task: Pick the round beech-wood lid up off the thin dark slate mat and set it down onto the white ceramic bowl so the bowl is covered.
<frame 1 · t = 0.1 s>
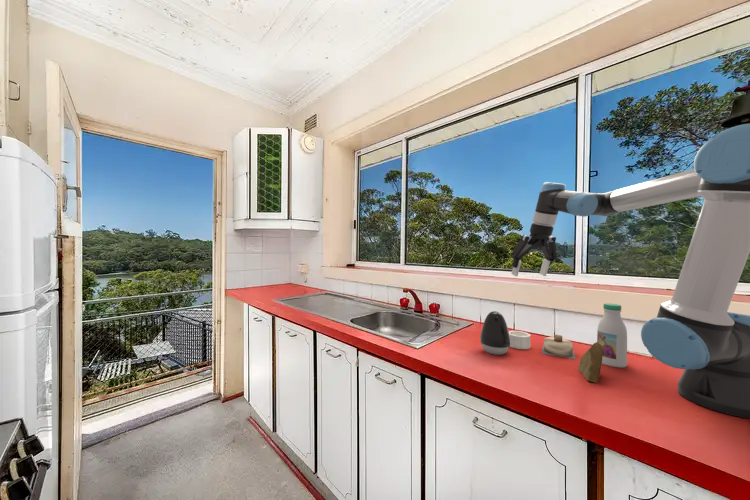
hand: (528, 275, 114), 28 cm above the counter, tool tilted 20°, fingers open, 13 cm apart
lid: (558, 351, 104), resting on mat
rock: (587, 376, 86), on the counter
black egg-shaped device: (494, 353, 104), on the counter
bowl: (518, 346, 111), on the counter
mat: (557, 352, 104), on the counter
milk bottle: (611, 364, 95), on the counter
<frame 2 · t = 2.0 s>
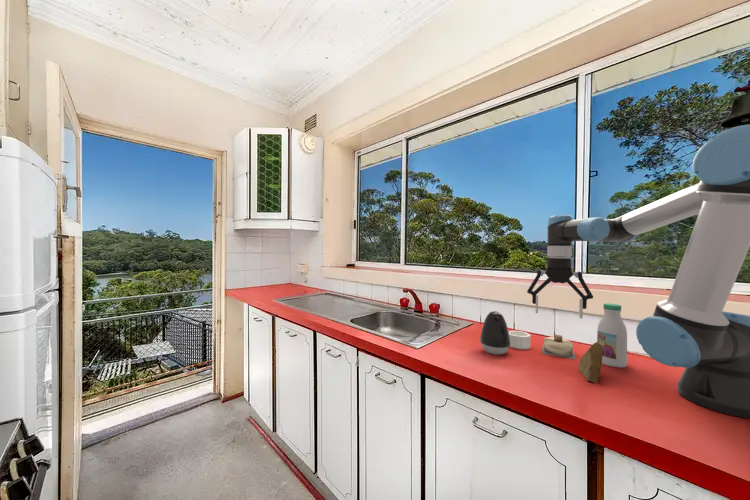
hand: (558, 315, 104), 14 cm above the counter, tool pointing down, fingers open, 13 cm apart
nothing on the counter moved.
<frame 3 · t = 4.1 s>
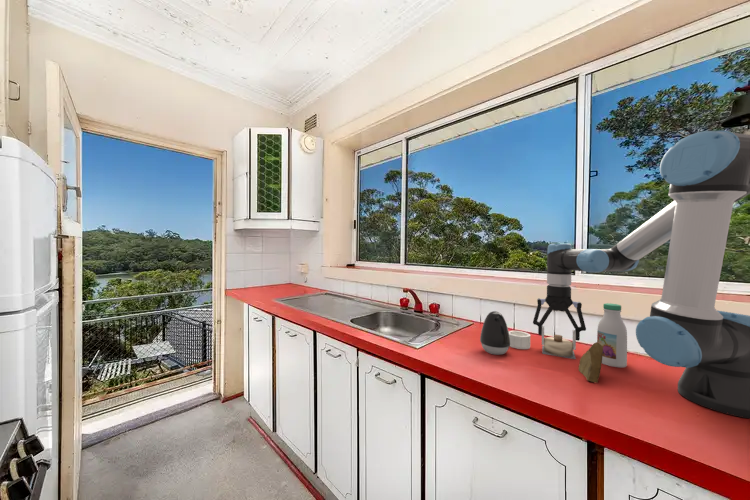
hand: (558, 346, 104), 2 cm above the counter, tool pointing down, fingers closed on lid, 9 cm apart
lid: (558, 351, 104), resting on mat, touching gripper
everything else where it was.
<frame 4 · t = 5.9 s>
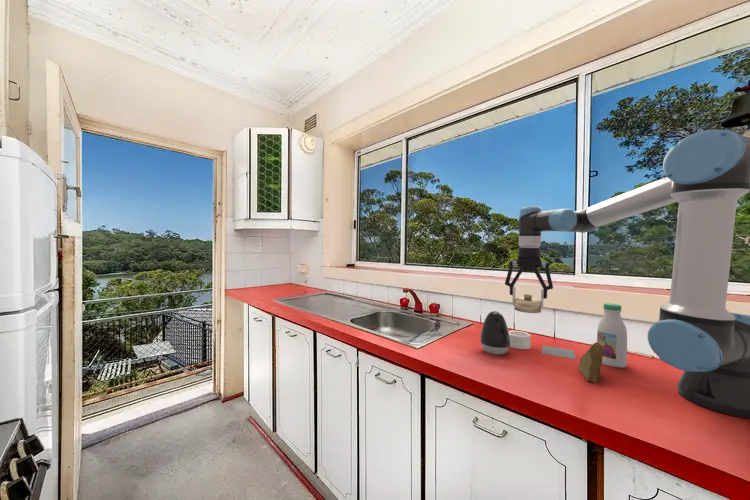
hand: (527, 305, 110), 16 cm above the counter, tool pointing down, fingers closed on lid, 9 cm apart
lid: (527, 310, 110), point 14 cm above the counter, touching gripper
everything else where it was.
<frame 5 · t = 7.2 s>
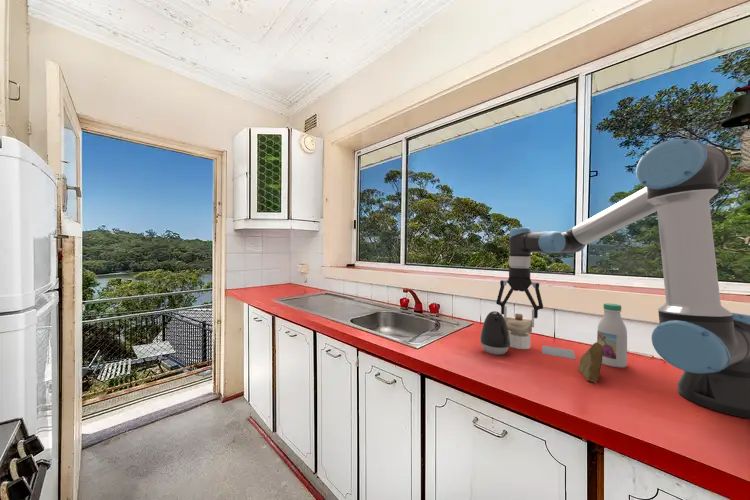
hand: (518, 324, 111), 9 cm above the counter, tool pointing down, fingers closed on lid, 9 cm apart
lid: (518, 329, 111), point 7 cm above the counter, touching gripper
everything else where it was.
when the fingers open (8 cm above the counter, at t = 8.0 s): lid drops 1 cm, resting on bowl.
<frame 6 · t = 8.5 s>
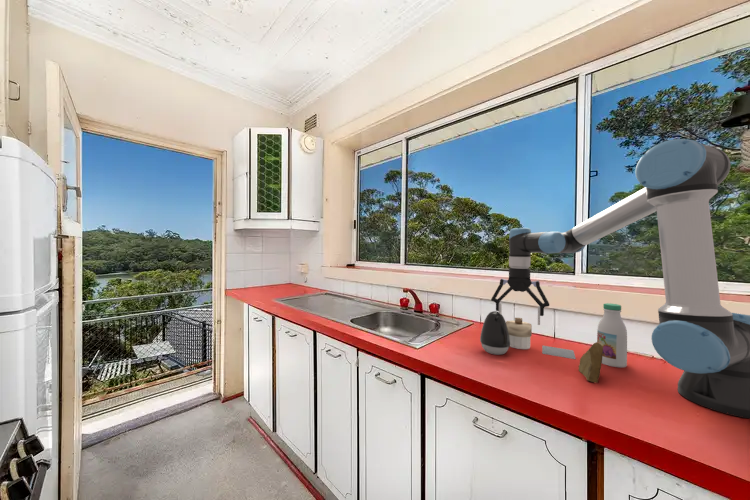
hand: (518, 321, 111), 10 cm above the counter, tool pointing down, fingers open, 13 cm apart
lid: (518, 333, 111), point 5 cm above the counter, touching bowl
everything else where it was.
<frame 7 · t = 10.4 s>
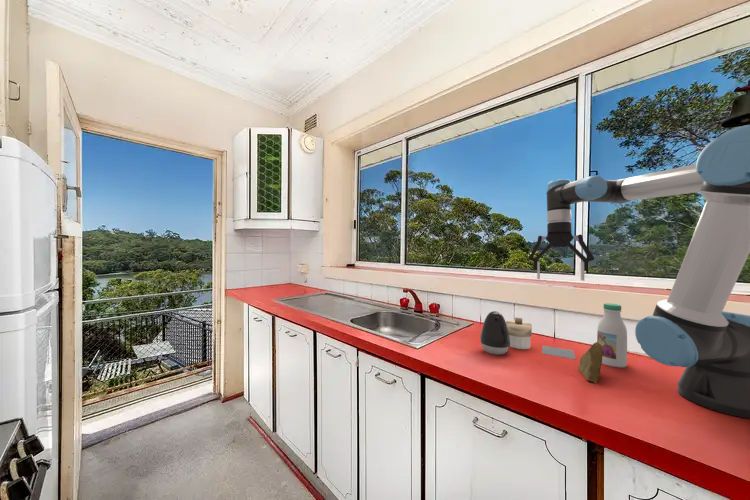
hand: (559, 279, 104), 27 cm above the counter, tool pointing down, fingers open, 13 cm apart
nothing on the counter moved.
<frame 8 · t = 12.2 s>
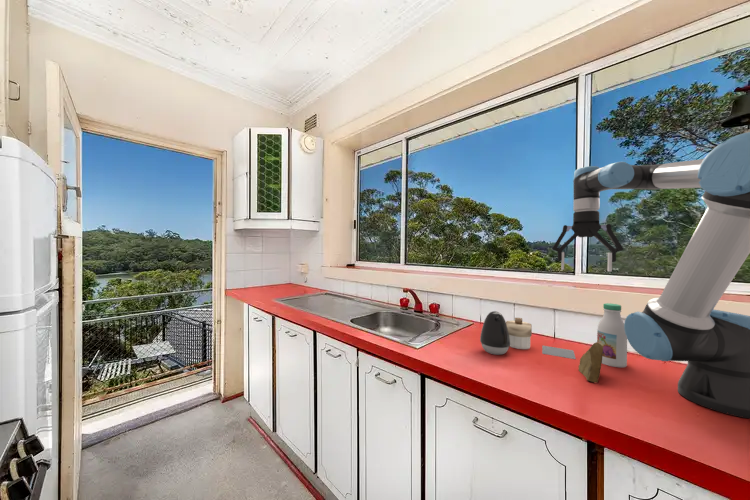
hand: (585, 270, 101), 31 cm above the counter, tool pointing down, fingers open, 13 cm apart
nothing on the counter moved.
at the end: lid 0.1 cm off-centre on the bowl, point 5.0 cm above the bowl's base; lid tilted 0°; the gripper is holding nothing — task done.
